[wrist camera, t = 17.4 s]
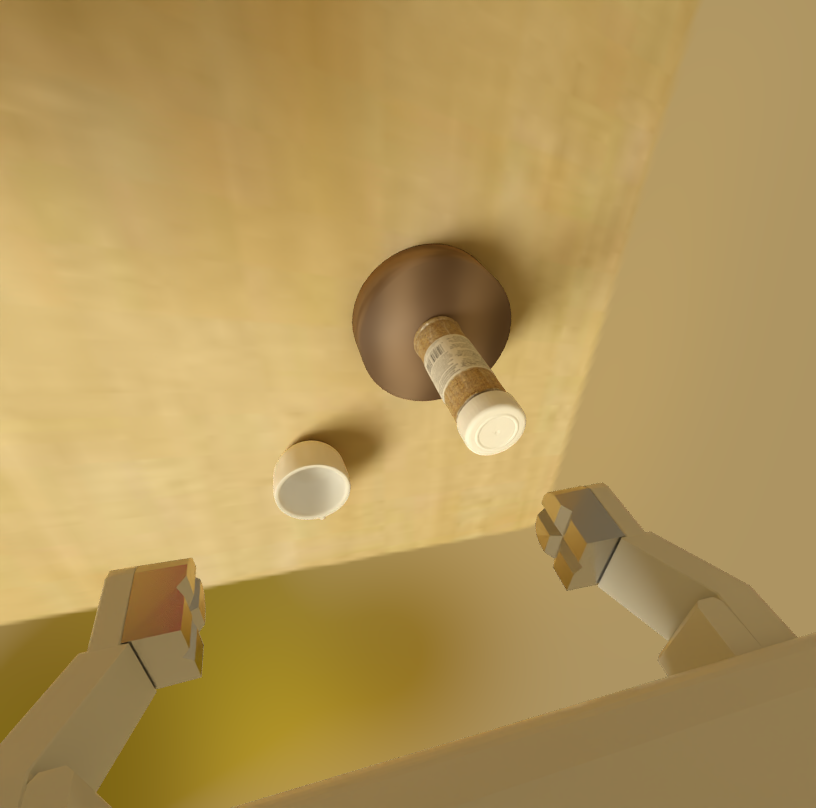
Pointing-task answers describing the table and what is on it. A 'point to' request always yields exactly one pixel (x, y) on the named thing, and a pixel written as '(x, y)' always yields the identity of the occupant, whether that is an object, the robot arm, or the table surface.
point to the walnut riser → (426, 314)
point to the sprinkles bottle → (469, 388)
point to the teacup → (310, 481)
